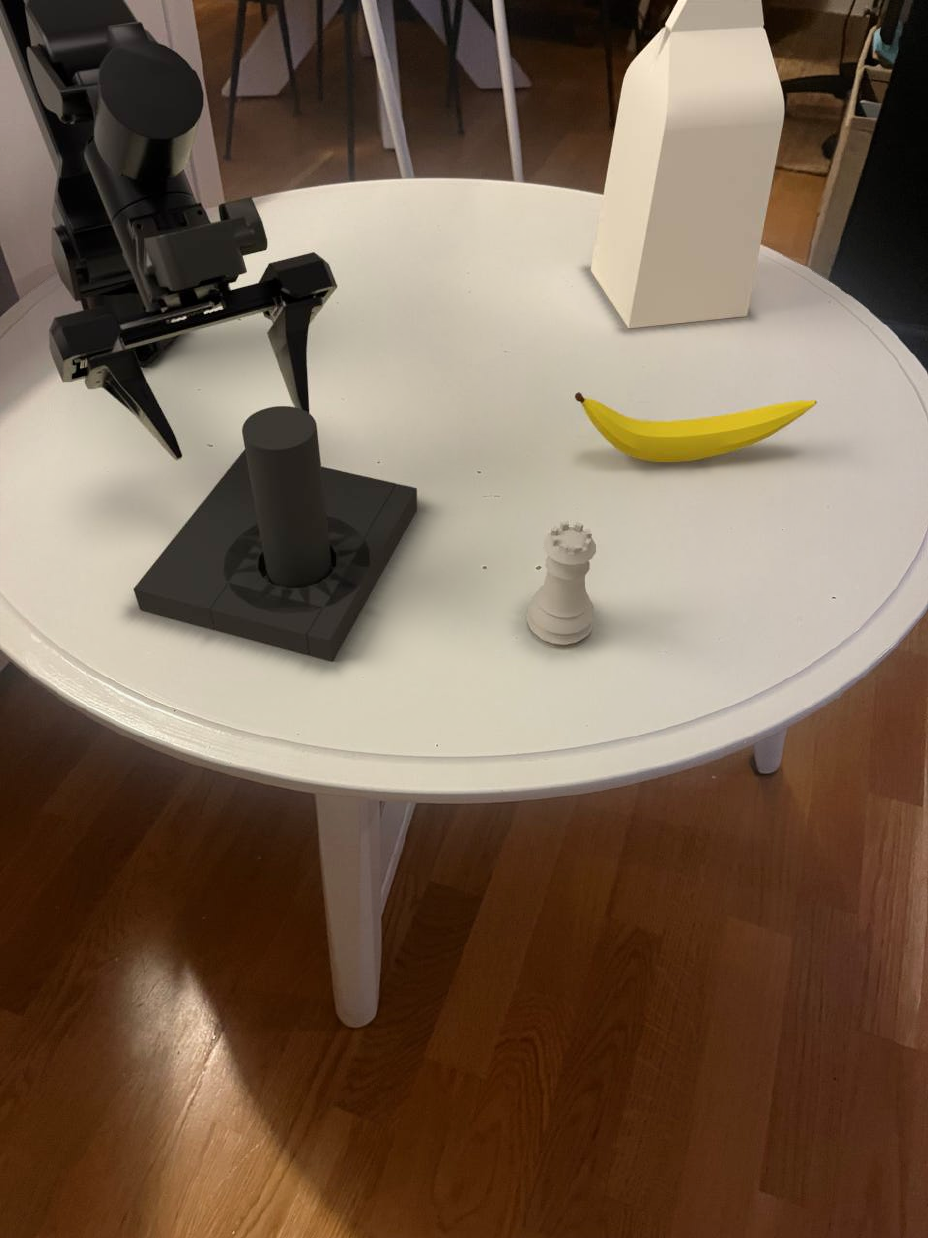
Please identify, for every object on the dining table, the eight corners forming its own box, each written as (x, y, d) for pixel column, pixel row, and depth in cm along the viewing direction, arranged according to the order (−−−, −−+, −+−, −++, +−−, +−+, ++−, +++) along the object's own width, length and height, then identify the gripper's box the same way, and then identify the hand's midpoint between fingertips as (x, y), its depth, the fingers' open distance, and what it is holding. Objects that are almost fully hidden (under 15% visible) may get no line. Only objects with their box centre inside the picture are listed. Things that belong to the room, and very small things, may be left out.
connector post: (278, 557, 69) (253, 402, 60) (339, 564, 69) (324, 409, 59) (261, 601, 66) (232, 445, 57) (325, 608, 66) (306, 452, 56)
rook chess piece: (522, 601, 67) (530, 512, 61) (586, 598, 67) (601, 509, 61) (530, 650, 64) (540, 561, 58) (598, 647, 64) (614, 558, 58)
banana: (805, 464, 78) (828, 396, 73) (570, 473, 76) (578, 405, 72) (793, 442, 80) (815, 374, 75) (564, 451, 78) (572, 383, 74)
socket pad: (139, 610, 65) (132, 588, 64) (248, 469, 76) (244, 448, 74) (332, 661, 63) (330, 641, 61) (417, 508, 73) (417, 487, 72)
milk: (628, 328, 91) (678, 13, 72) (590, 270, 99) (626, -29, 80) (746, 315, 93) (825, 5, 74) (700, 259, 101) (761, -35, 82)
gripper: (4, 189, 54) (116, 458, 55) (312, 127, 61) (403, 368, 62) (12, 263, 64) (106, 488, 66) (275, 203, 71) (353, 408, 73)
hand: (244, 437), depth 66 cm, fingers open, 9 cm apart
